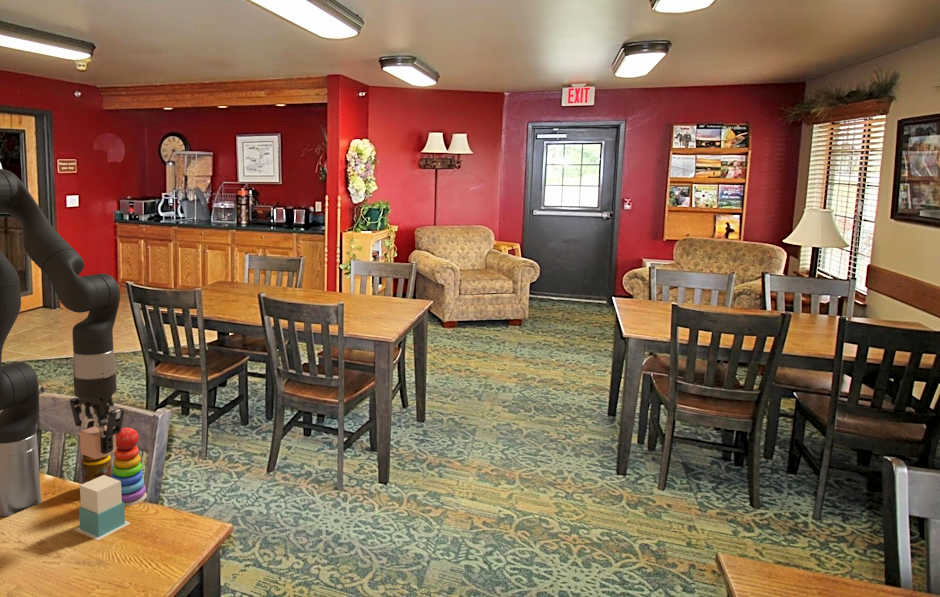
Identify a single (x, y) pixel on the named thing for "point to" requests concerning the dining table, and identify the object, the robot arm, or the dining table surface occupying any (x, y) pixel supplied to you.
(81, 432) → the pink cube
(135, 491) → the stacking toy
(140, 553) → the dining table surface
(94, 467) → the condiment
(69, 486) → the dining table surface
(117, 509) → the teal base brick
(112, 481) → the cream brick
